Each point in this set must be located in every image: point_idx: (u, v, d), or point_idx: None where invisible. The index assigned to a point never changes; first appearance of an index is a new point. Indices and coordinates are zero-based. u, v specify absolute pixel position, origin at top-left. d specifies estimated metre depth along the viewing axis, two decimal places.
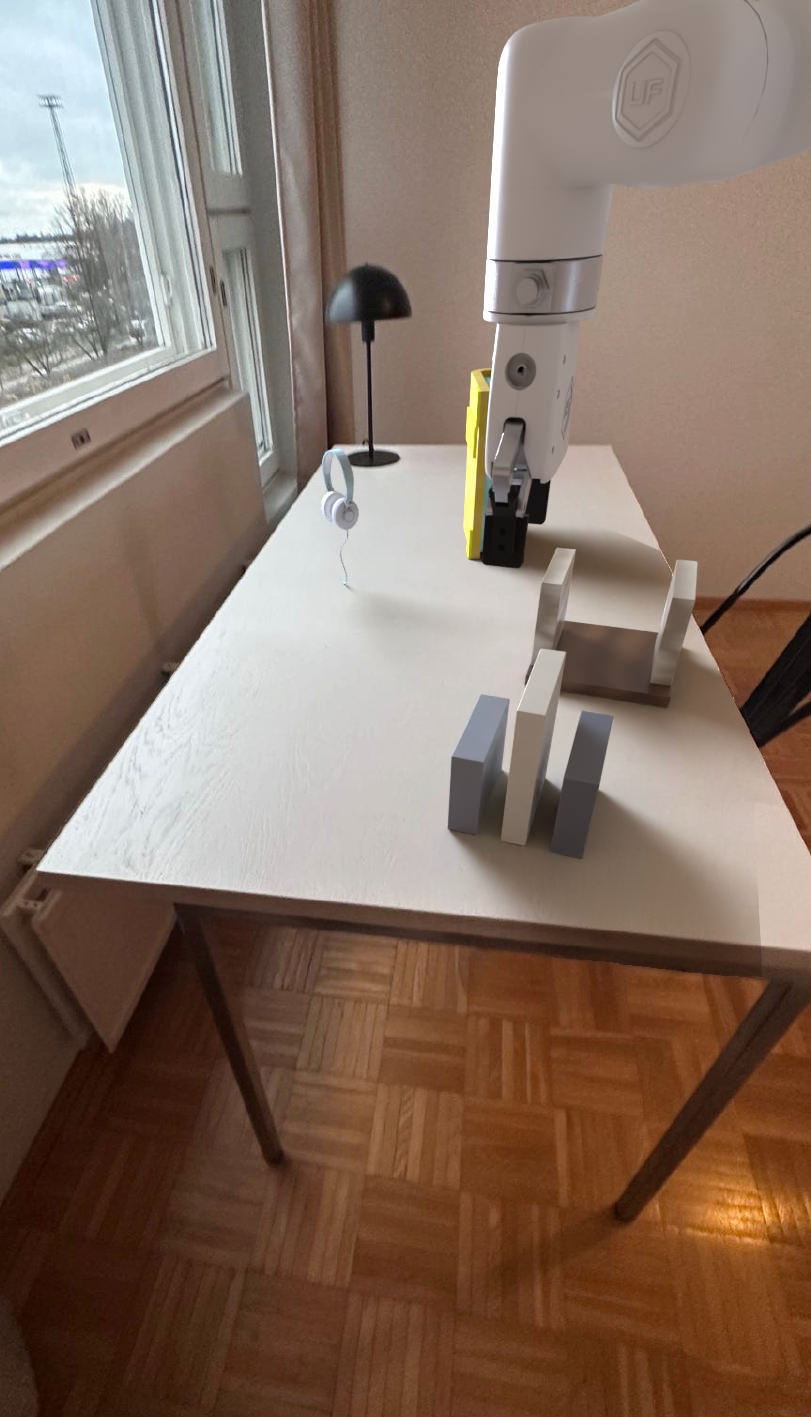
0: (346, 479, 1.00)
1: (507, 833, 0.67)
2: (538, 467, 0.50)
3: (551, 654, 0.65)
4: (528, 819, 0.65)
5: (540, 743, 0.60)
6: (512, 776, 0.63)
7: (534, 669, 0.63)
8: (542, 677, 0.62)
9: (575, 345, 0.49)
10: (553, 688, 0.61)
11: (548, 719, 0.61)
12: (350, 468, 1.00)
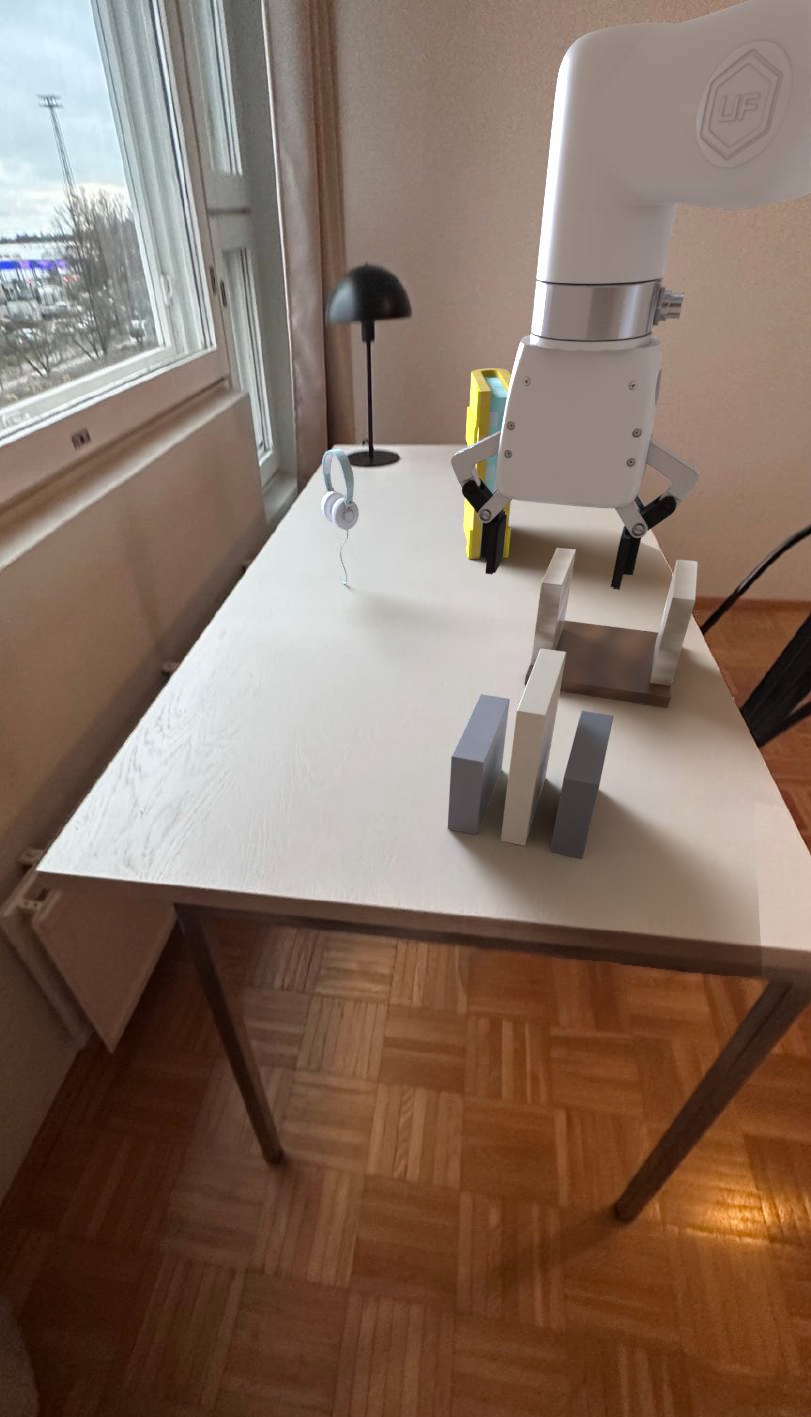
0: (346, 479, 1.00)
1: (507, 833, 0.67)
2: None
3: (551, 654, 0.65)
4: (528, 819, 0.65)
5: (540, 743, 0.60)
6: (512, 776, 0.63)
7: (534, 669, 0.63)
8: (542, 677, 0.62)
9: None
10: (553, 688, 0.61)
11: (548, 719, 0.61)
12: (350, 468, 1.00)
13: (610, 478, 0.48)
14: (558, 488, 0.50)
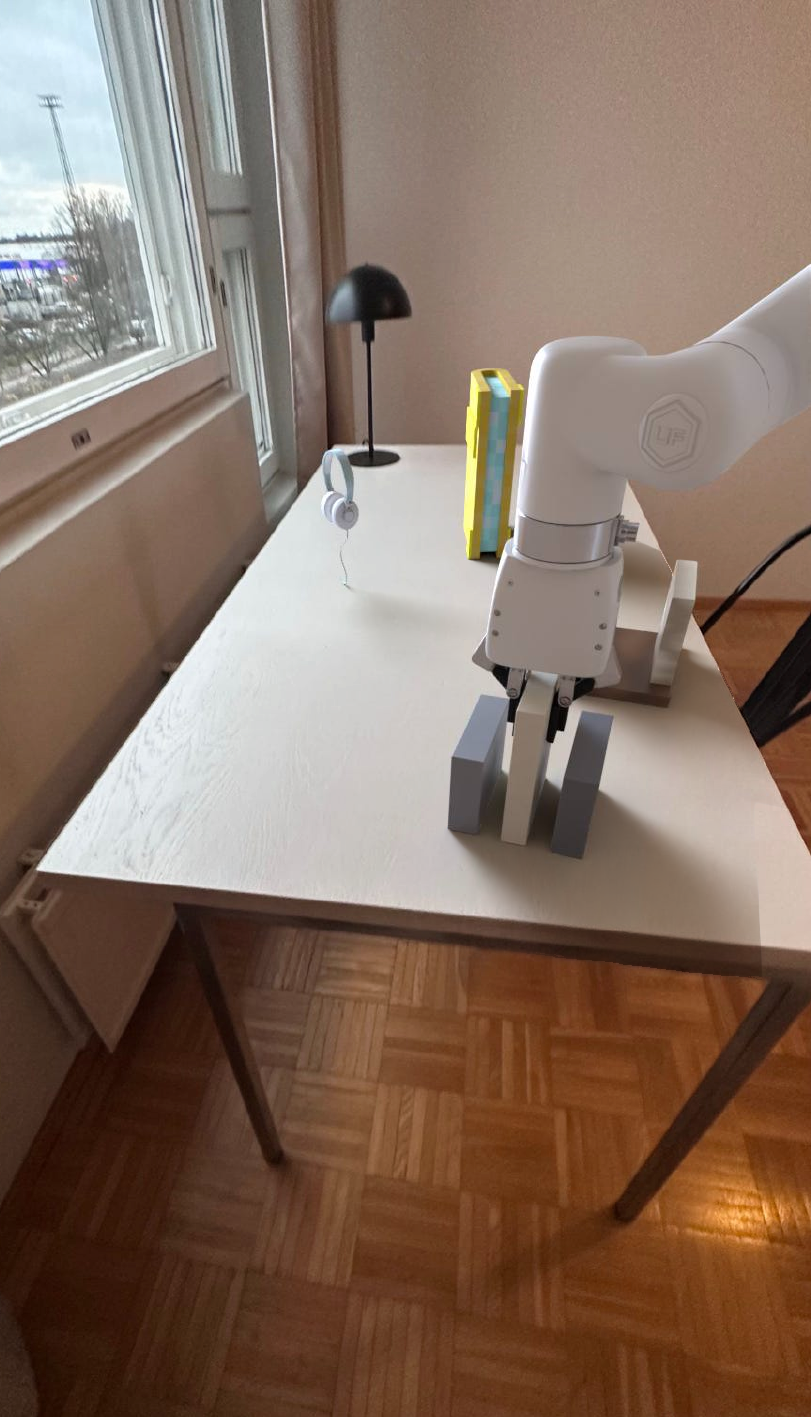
0: (346, 479, 1.00)
1: (507, 833, 0.67)
2: None
3: None
4: (528, 819, 0.65)
5: (540, 743, 0.60)
6: (511, 776, 0.63)
7: None
8: (542, 677, 0.62)
9: None
10: (553, 688, 0.61)
11: (548, 719, 0.61)
12: (350, 468, 1.00)
13: (581, 657, 0.57)
14: (538, 661, 0.59)
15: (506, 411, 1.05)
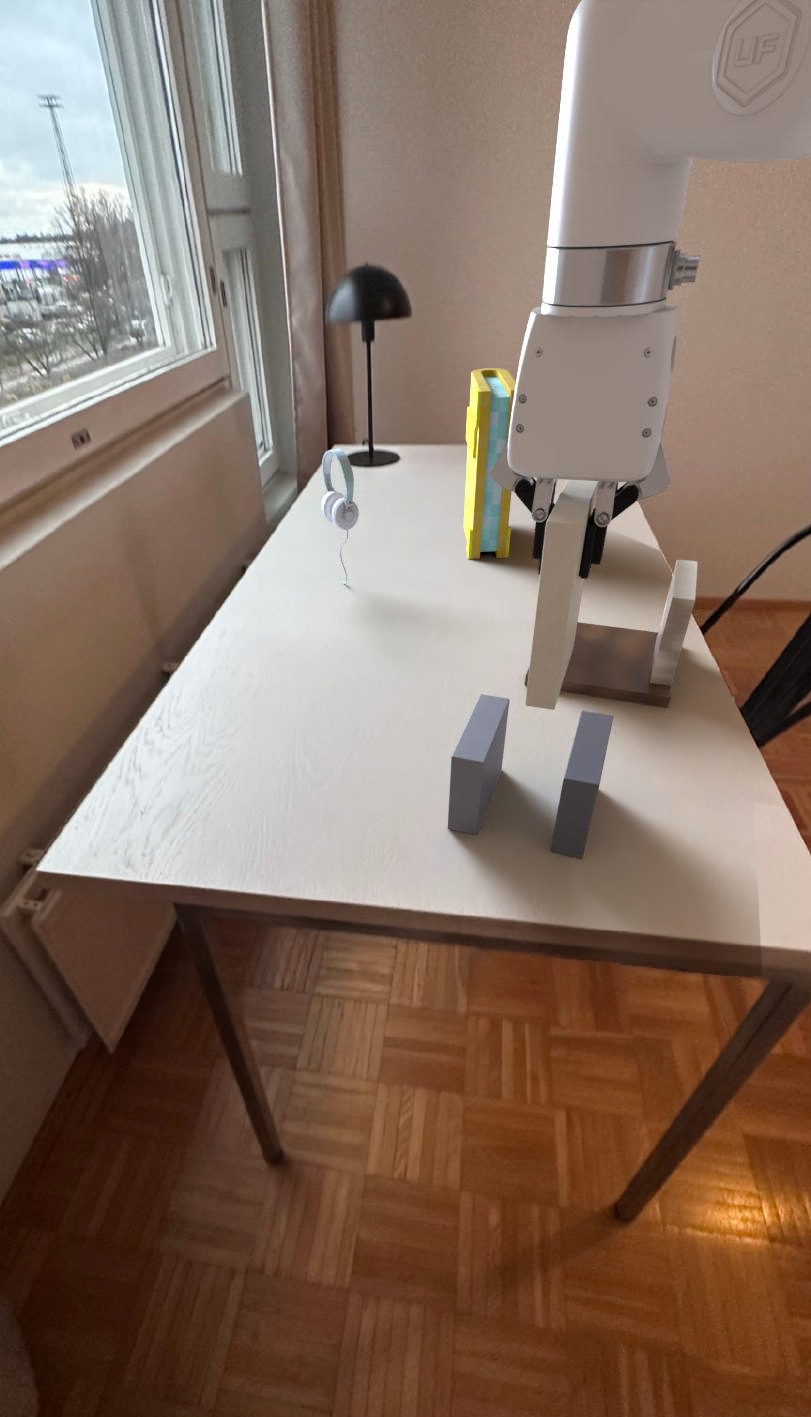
0: (346, 479, 1.00)
1: (533, 694, 0.57)
2: None
3: None
4: (558, 672, 0.55)
5: (574, 564, 0.50)
6: (539, 615, 0.53)
7: (564, 489, 0.53)
8: (574, 495, 0.52)
9: None
10: (588, 503, 0.51)
11: (582, 542, 0.52)
12: (350, 468, 1.00)
13: (625, 450, 0.47)
14: (572, 462, 0.49)
15: (506, 411, 1.05)
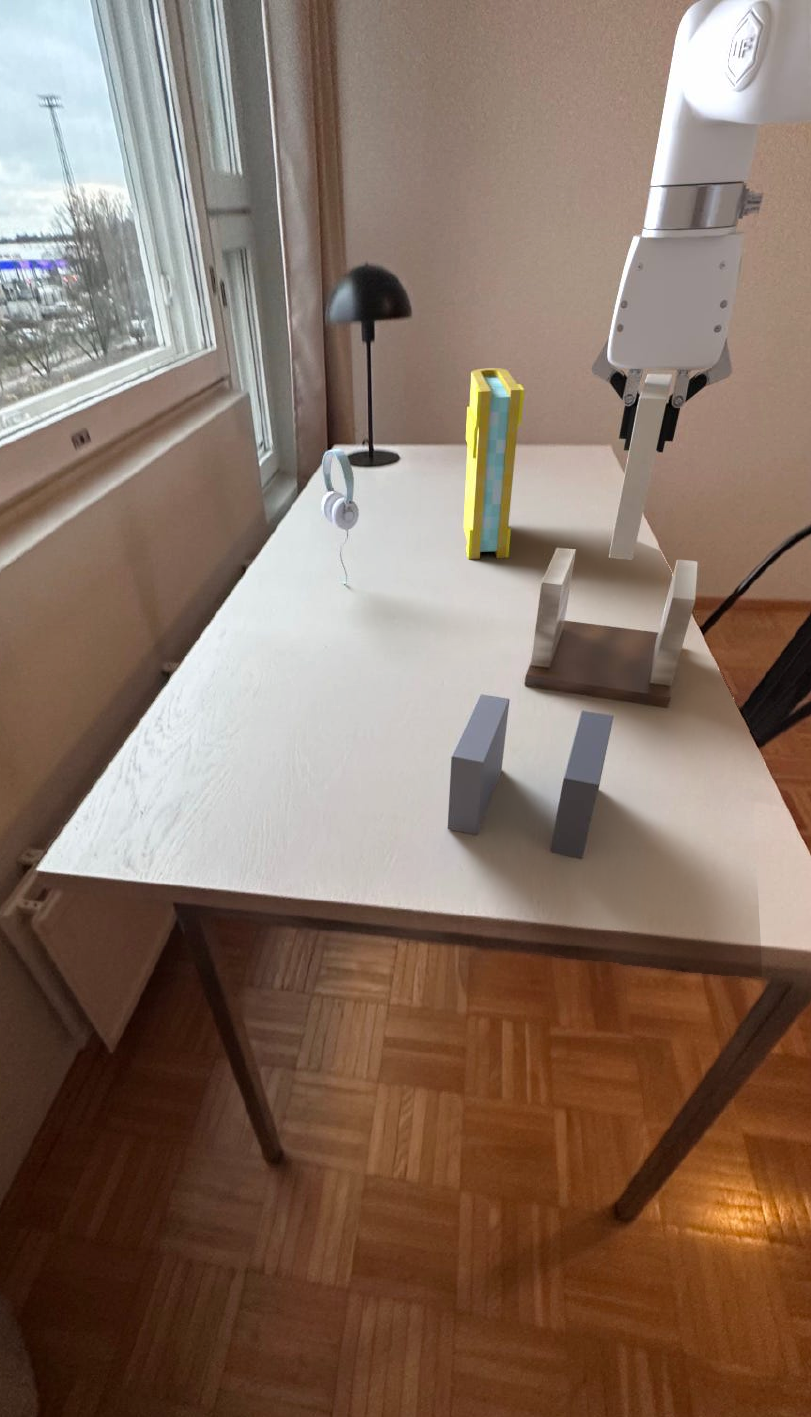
0: (346, 479, 1.00)
1: (616, 547, 0.74)
2: None
3: (659, 375, 0.72)
4: (638, 526, 0.72)
5: (658, 433, 0.66)
6: (627, 478, 0.69)
7: (646, 381, 0.70)
8: (655, 384, 0.69)
9: None
10: (668, 388, 0.67)
11: None
12: (350, 468, 1.00)
13: (700, 343, 0.63)
14: (658, 354, 0.65)
15: (506, 411, 1.05)
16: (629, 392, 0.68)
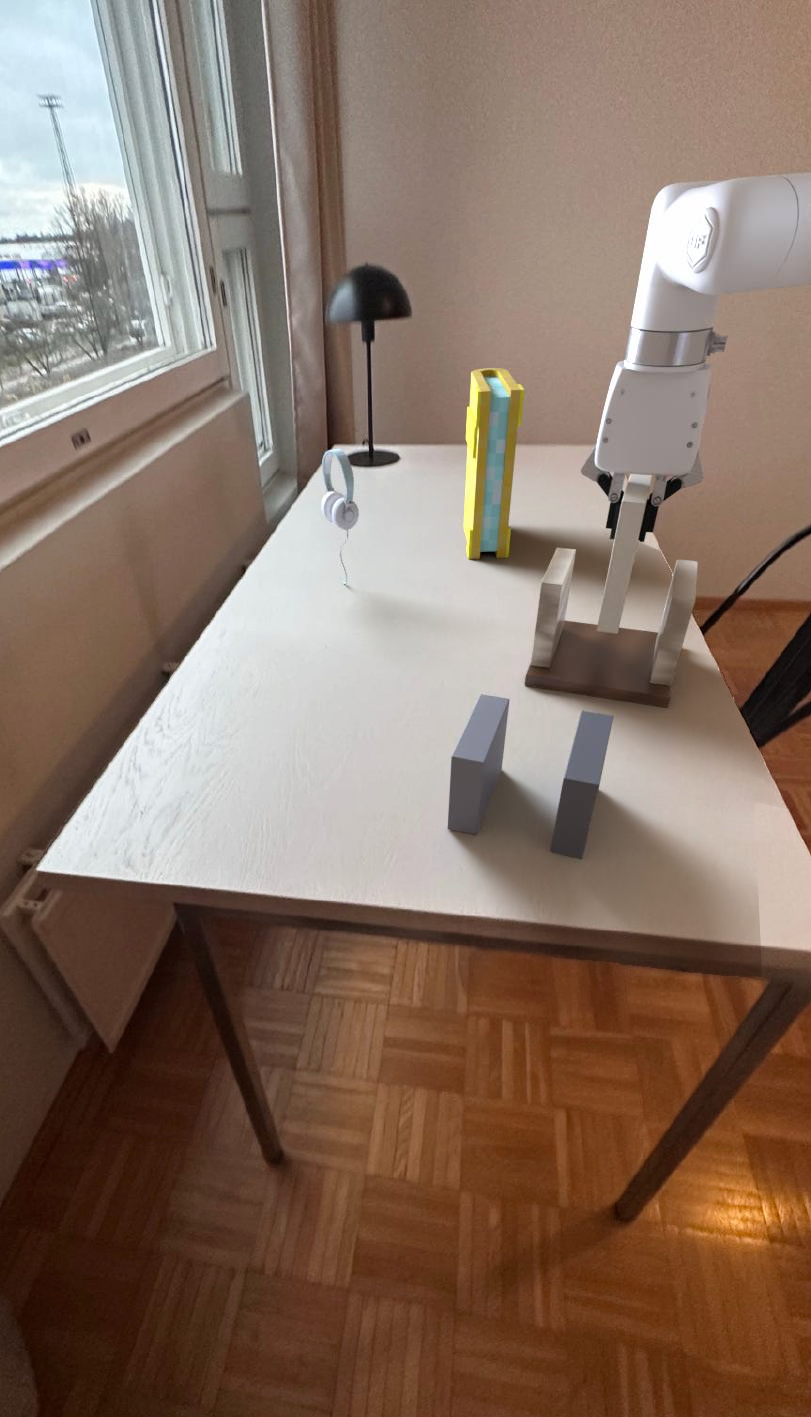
0: (346, 479, 1.00)
1: (603, 623, 0.83)
2: None
3: None
4: (622, 606, 0.81)
5: (639, 530, 0.75)
6: (612, 565, 0.79)
7: (629, 480, 0.79)
8: (637, 484, 0.78)
9: None
10: (648, 489, 0.76)
11: None
12: (350, 468, 1.00)
13: (675, 455, 0.73)
14: (639, 463, 0.74)
15: (506, 411, 1.05)
16: (614, 491, 0.78)
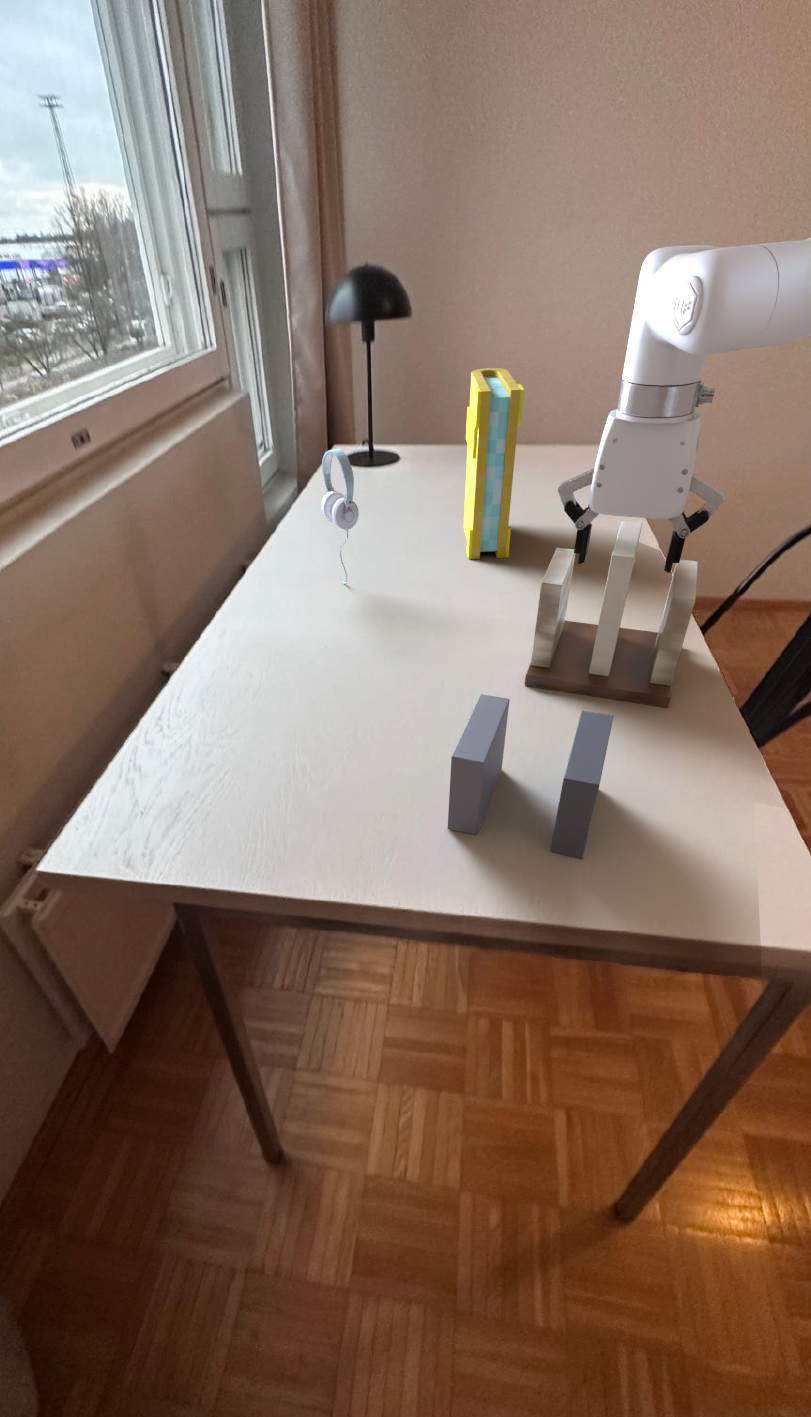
0: (346, 479, 1.00)
1: (595, 666, 0.87)
2: None
3: (631, 524, 0.85)
4: (613, 651, 0.85)
5: (628, 582, 0.79)
6: (603, 614, 0.82)
7: (620, 532, 0.83)
8: (627, 537, 0.82)
9: None
10: (637, 542, 0.80)
11: None
12: (350, 468, 1.00)
13: (666, 500, 0.75)
14: (631, 506, 0.77)
15: (506, 411, 1.05)
16: (583, 520, 0.80)
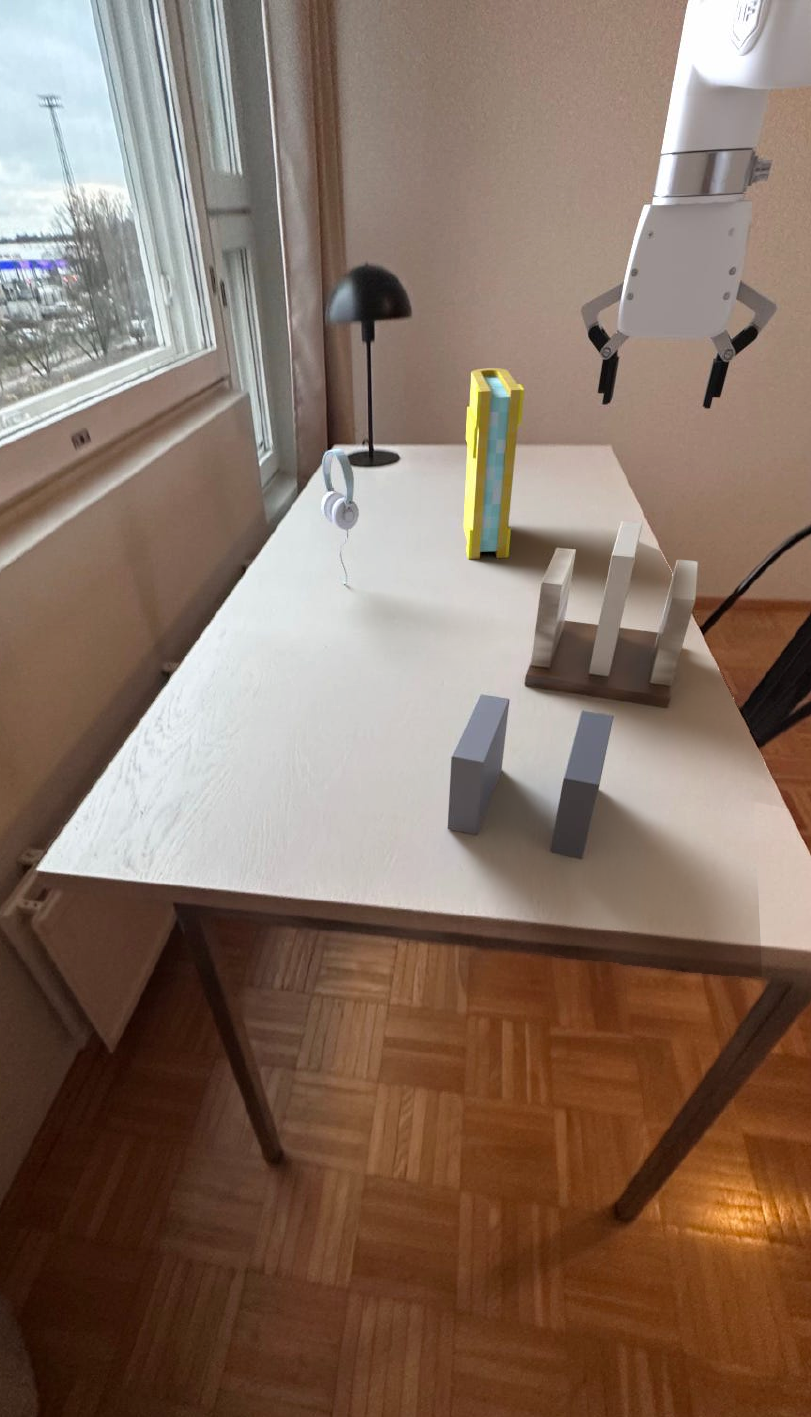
0: (346, 479, 1.00)
1: (595, 666, 0.87)
2: None
3: (631, 524, 0.85)
4: (613, 651, 0.85)
5: (628, 582, 0.79)
6: (603, 614, 0.82)
7: (620, 532, 0.83)
8: (627, 537, 0.82)
9: None
10: (637, 542, 0.80)
11: None
12: (350, 468, 1.00)
13: (709, 310, 0.65)
14: (668, 322, 0.66)
15: (506, 411, 1.05)
16: (610, 346, 0.70)
